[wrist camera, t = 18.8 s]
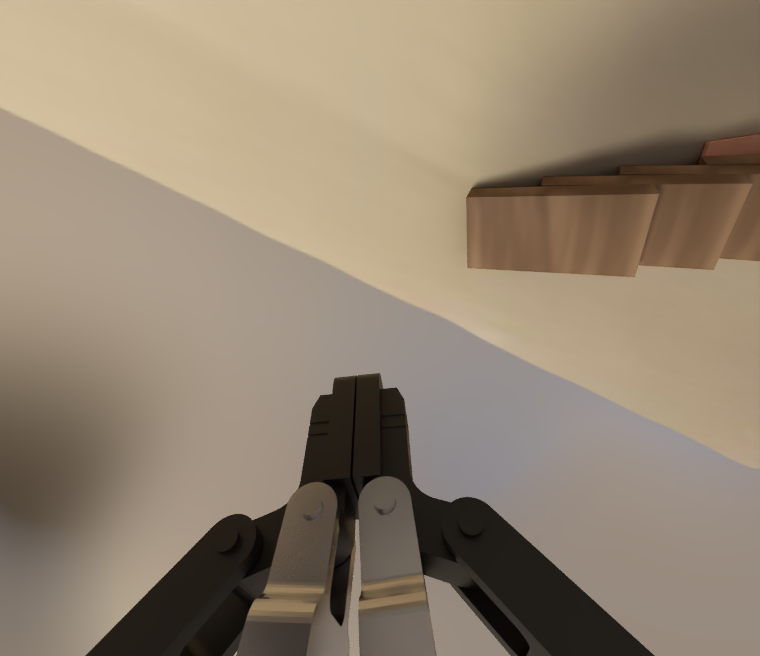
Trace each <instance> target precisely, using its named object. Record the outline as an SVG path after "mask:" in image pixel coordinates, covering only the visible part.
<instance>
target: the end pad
mask: <svg viewBox="0 0 760 656" xmlns="http://www.w3.org/2000/svg"><path fill="white" fill-rule="evenodd" d="M728 155H760V134H756V135H750V136H743V137H736V138H729V139H723V140H716V141H709V142H706V143H705V146H704V149H703V152H702V155H701V156H728ZM700 159H701V158H700Z"/></svg>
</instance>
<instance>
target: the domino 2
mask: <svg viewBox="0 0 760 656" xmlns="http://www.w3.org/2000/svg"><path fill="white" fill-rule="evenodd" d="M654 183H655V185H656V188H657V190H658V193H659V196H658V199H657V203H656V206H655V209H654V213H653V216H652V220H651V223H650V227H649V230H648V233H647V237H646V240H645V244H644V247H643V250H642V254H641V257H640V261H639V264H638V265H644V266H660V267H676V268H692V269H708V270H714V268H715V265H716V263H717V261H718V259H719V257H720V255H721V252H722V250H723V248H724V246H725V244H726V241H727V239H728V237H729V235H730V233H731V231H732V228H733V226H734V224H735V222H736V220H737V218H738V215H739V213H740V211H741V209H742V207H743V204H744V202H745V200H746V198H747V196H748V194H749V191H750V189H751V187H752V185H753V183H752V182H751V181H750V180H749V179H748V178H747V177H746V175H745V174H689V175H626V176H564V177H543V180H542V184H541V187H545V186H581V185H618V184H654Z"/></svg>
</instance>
